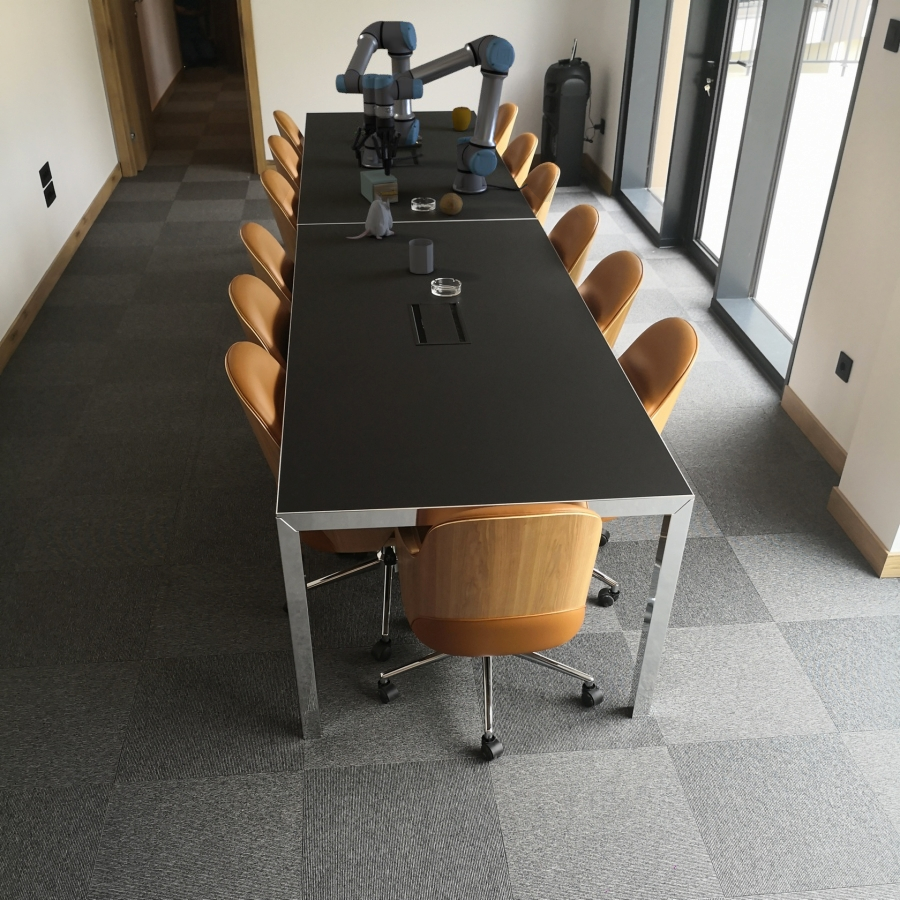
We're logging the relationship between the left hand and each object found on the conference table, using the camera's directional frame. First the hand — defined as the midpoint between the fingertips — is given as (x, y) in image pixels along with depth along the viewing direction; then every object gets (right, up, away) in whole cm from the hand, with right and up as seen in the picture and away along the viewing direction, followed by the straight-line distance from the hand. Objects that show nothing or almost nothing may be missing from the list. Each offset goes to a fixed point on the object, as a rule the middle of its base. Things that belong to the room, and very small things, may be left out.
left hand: (374, 165), depth 378 cm
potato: (+33, -26, -16) cm, 45 cm away
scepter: (-4, +41, +88) cm, 98 cm away
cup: (+23, -61, -70) cm, 95 cm away
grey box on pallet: (+2, -13, +4) cm, 14 cm away
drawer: (+4, -15, -1) cm, 15 cm away
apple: (+39, +56, +112) cm, 132 cm away
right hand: (+6, -9, -14) cm, 17 cm away
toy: (+2, -43, -43) cm, 61 cm away
